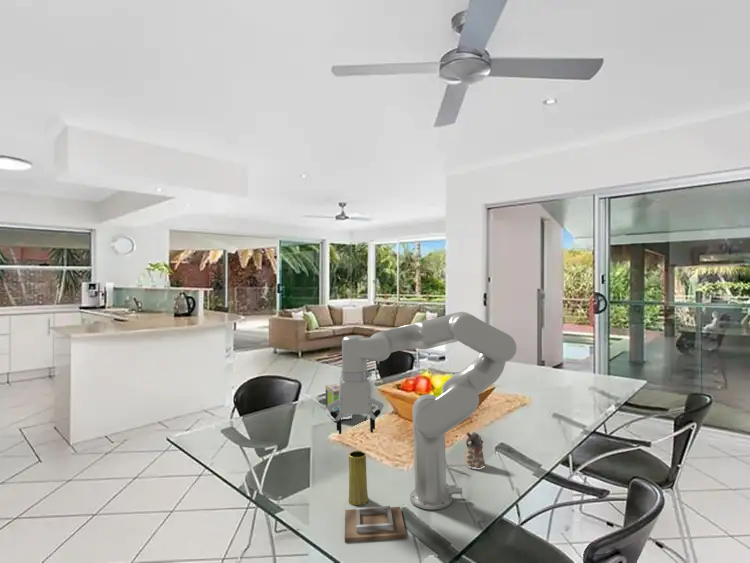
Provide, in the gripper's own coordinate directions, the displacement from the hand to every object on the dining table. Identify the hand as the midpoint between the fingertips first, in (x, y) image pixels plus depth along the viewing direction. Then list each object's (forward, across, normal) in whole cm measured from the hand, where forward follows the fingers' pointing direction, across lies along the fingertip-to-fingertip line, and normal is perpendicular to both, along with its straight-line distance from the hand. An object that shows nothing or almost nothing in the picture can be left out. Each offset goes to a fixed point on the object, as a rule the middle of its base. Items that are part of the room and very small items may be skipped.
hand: (355, 432), depth 135 cm
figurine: (+21, -42, -20) cm, 51 cm away
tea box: (+21, +8, -84) cm, 87 cm away
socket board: (+21, -4, +14) cm, 26 cm away
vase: (+21, 0, 0) cm, 21 cm away
